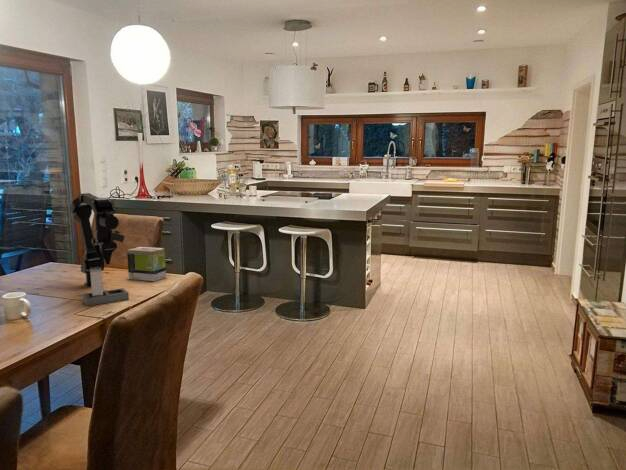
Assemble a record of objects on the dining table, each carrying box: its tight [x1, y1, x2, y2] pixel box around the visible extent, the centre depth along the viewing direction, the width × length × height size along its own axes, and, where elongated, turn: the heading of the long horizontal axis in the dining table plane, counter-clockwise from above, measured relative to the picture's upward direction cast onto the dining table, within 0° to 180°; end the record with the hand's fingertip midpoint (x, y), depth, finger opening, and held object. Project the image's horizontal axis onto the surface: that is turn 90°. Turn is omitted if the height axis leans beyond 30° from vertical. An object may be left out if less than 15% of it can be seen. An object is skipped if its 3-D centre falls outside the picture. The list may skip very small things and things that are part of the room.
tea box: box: [126, 246, 167, 282], centre depth 234 cm, size 15×10×15 cm
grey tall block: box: [90, 267, 104, 297], centre depth 195 cm, size 4×4×14 cm
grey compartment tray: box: [81, 287, 130, 307], centre depth 198 cm, size 8×16×3 cm, turn 127°
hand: (105, 262), depth 209 cm, fingers open, 9 cm apart
